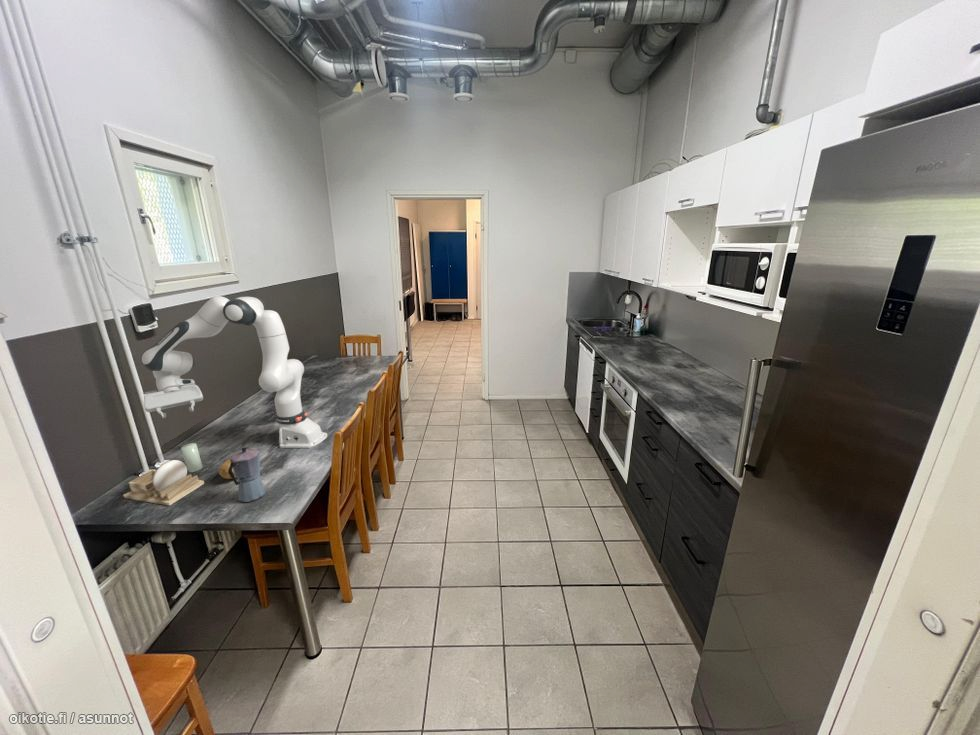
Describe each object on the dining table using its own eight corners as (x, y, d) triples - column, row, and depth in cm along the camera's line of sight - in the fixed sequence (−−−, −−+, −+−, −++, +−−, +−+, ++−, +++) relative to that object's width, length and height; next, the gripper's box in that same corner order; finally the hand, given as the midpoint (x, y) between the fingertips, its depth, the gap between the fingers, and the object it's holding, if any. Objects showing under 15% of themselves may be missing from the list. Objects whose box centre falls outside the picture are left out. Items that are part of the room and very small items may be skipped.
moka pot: (275, 483, 153) (265, 439, 146) (253, 509, 138) (242, 460, 132) (251, 484, 152) (240, 440, 146) (227, 510, 138) (214, 461, 131)
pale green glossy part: (205, 466, 166) (199, 443, 162) (194, 472, 161) (187, 449, 158) (196, 464, 167) (189, 442, 164) (184, 471, 162) (177, 448, 159)
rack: (204, 483, 153) (196, 454, 149) (169, 505, 141) (159, 474, 136) (161, 476, 158) (152, 448, 154) (124, 497, 145) (113, 467, 141)
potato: (258, 464, 166) (254, 448, 164) (240, 483, 153) (236, 466, 150) (234, 466, 166) (230, 449, 163) (215, 485, 152) (210, 468, 150)
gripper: (138, 389, 161) (146, 418, 157) (197, 378, 174) (206, 404, 170) (140, 396, 165) (148, 424, 162) (198, 385, 179) (206, 410, 175)
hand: (178, 414), depth 166 cm, fingers open, 8 cm apart
